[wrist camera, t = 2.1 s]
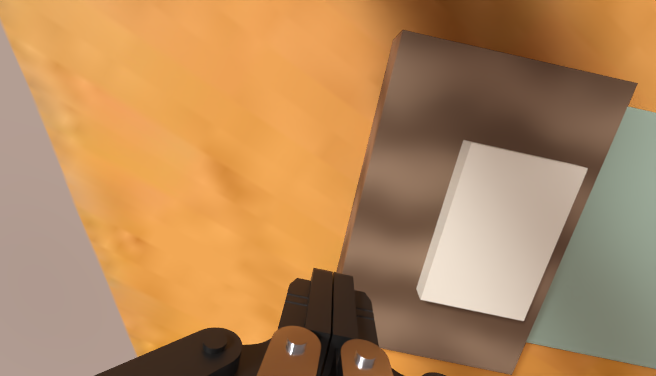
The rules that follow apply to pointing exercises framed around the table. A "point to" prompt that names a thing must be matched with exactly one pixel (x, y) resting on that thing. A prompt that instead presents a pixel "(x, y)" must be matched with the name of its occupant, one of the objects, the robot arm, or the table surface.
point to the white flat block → (497, 229)
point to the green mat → (610, 258)
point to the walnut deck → (436, 171)
